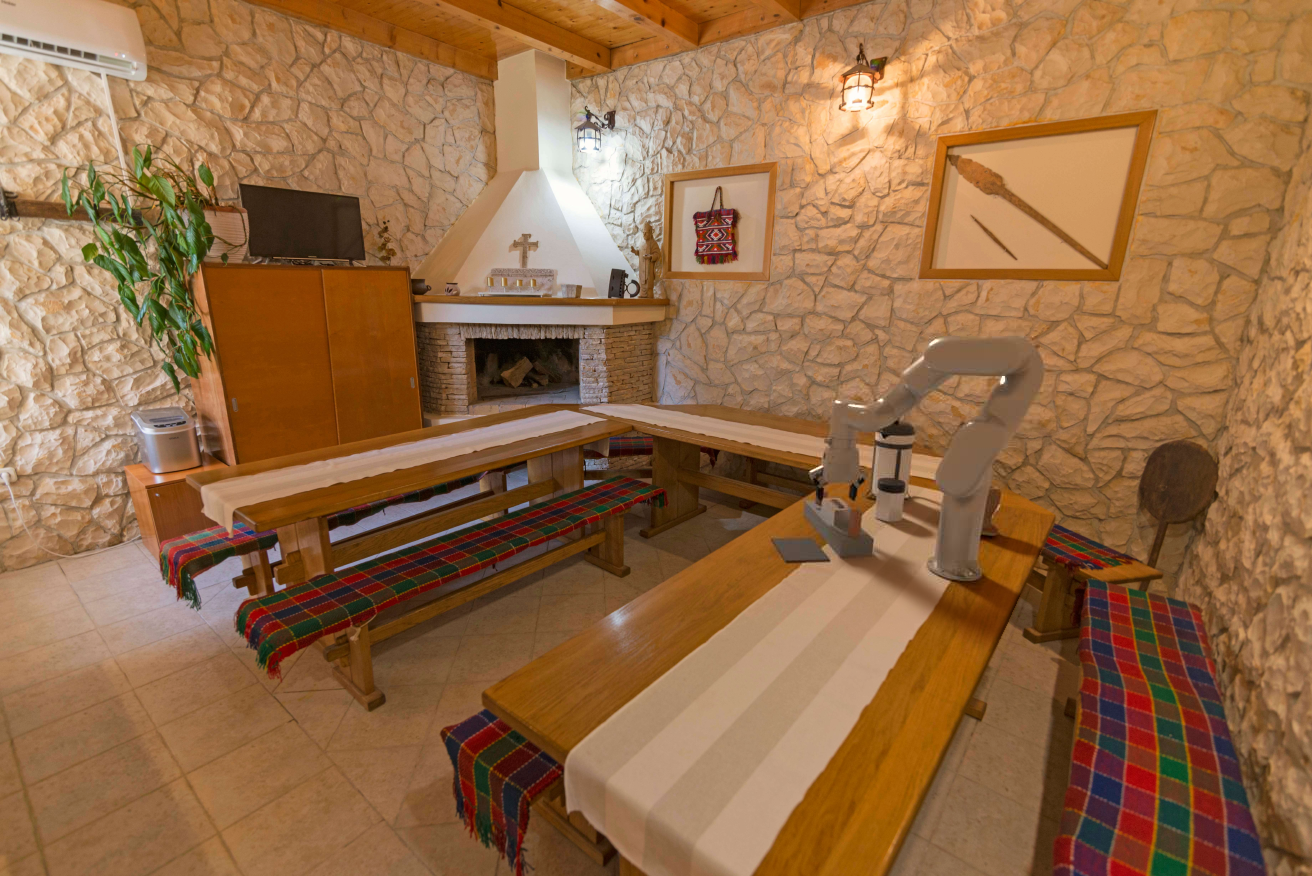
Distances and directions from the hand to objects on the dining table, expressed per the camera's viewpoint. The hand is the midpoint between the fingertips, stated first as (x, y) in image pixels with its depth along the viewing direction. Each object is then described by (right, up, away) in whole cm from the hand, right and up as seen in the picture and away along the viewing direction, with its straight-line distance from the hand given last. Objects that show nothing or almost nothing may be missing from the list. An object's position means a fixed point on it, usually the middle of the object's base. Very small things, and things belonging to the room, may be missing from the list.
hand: (835, 499), depth 165 cm
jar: (+21, -8, +15) cm, 28 cm away
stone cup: (+42, -10, +6) cm, 44 cm away
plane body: (0, -11, +2) cm, 11 cm away
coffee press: (+29, -3, +33) cm, 45 cm away
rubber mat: (-13, -13, -9) cm, 20 cm away
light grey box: (0, -6, +1) cm, 6 cm away
